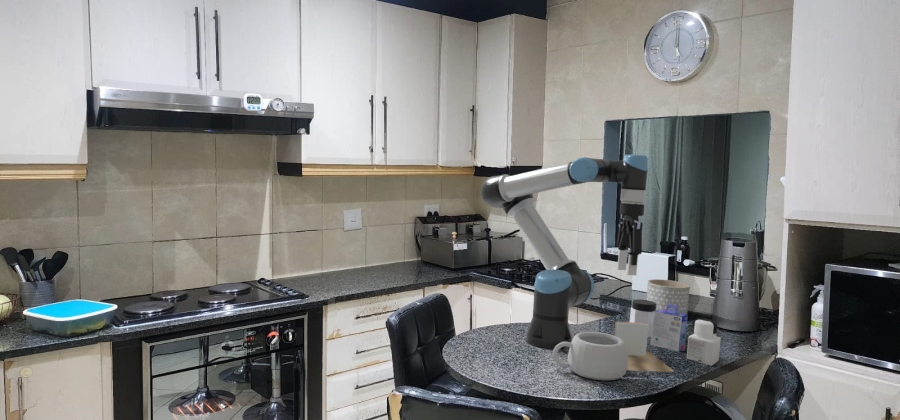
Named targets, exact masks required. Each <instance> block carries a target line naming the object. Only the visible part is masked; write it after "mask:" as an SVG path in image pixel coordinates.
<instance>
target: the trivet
mask: <svg viewBox="0 0 900 420" xmlns="http://www.w3.org/2000/svg"><path fill="white" fill-rule="evenodd" d="M627 358H628V367H627V370H626V371H630V372H632V371H635V372H661V373H664V372H665V373H666V372H667V373H669V372H670V373H671V372H672V373H674V372H675V371H674V369H672V368H671V367H669V366H668V365H667V364H666V363H664V362H663V361H662V360H660V359H659V358H658V357H657V356H656V355H654V354H653V353H652V352H650V351H646V356H638V355H627Z"/></svg>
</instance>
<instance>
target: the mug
mask: <svg viewBox="0 0 900 420" xmlns="http://www.w3.org/2000/svg"><path fill="white" fill-rule="evenodd" d="M563 346H567V347H566V348H569V350H568V353H567V354H568V355H567V361H563V360H561V359H560V358H559V356H558V352H559V350H560V349H562V348H561V347H563ZM563 348H564V347H563ZM552 359H553V361H554V362H555V363H556V364H557V365H559V366H561V367H563V368H569V369H571V371H572V372H573V373H574V374H576V375H578V376H580V377H583V378H587V379H589V380H595V381H597V380H598V381H615V380H619V379H621V378H622V377H623V376H625V375H626V373H627V371H628V370H627V367H628V358H627V349H626V345H625V343H624V341H623V340H622V339H620V338H619V337H616V336H614V335H613V334H609V333H605V332H599V331H598V332H597V331H583V332H579V333H575V335H574V337H572V342H571V343H570V342H561V343H559V344H557V345H556V346H555V348H554V349H553V348H552Z"/></svg>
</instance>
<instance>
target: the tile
mask: <svg viewBox="0 0 900 420" xmlns="http://www.w3.org/2000/svg"><path fill="white" fill-rule="evenodd" d="M614 336H616V337H619V338H620V339H622V340H623V341H624V343H625V345H626V349H627V355H638V356H646V352H647V346H648V337H647V336H648V324H647V323H632V322H630V321H628V322H627V321H626V322H624V321H615V322H614Z"/></svg>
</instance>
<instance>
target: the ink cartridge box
mask: <svg viewBox="0 0 900 420" xmlns="http://www.w3.org/2000/svg"><path fill="white" fill-rule="evenodd" d="M669 307H674V308H676V310H673V309H669ZM677 310H678V306H675V305H671V304H668V306H667V308H666V310H661V309H659V310H656V311H654V316H653V326H652V336H651V338H650V345H651V346H655V347H659V348H663V349H667V350H671V351H675V352H683V351H685V347H686V337H687V330H688V329H687V328H688V318H689V315H688V313H687V314H682V313H677Z"/></svg>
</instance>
